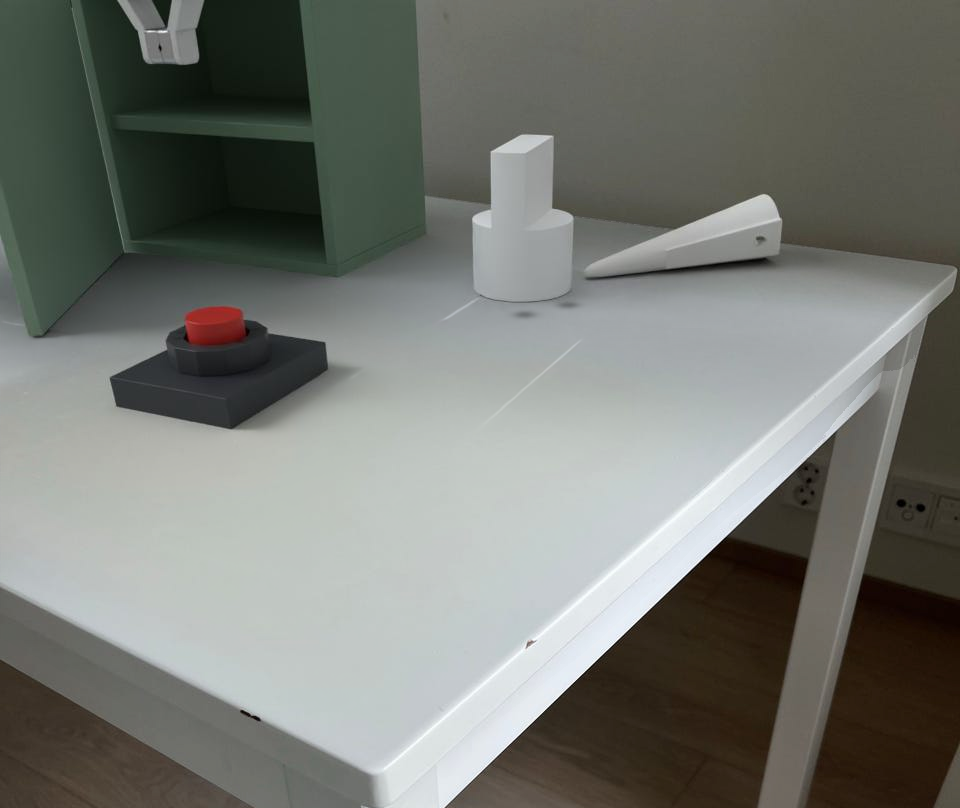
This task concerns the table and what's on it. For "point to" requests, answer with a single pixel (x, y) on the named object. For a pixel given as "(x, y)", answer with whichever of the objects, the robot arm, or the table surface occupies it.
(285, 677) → the table surface
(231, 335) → the button
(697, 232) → the white tapered wedge
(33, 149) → the door
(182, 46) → the robot arm
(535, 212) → the cylinder with rectangular tab
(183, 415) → the button box
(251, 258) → the cupboard
